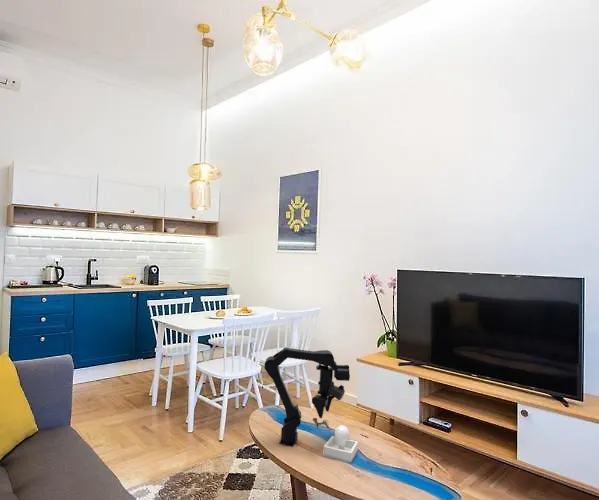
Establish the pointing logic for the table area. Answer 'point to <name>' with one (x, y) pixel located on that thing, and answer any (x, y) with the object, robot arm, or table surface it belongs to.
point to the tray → (338, 454)
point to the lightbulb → (341, 436)
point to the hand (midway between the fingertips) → (324, 414)
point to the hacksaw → (320, 423)
